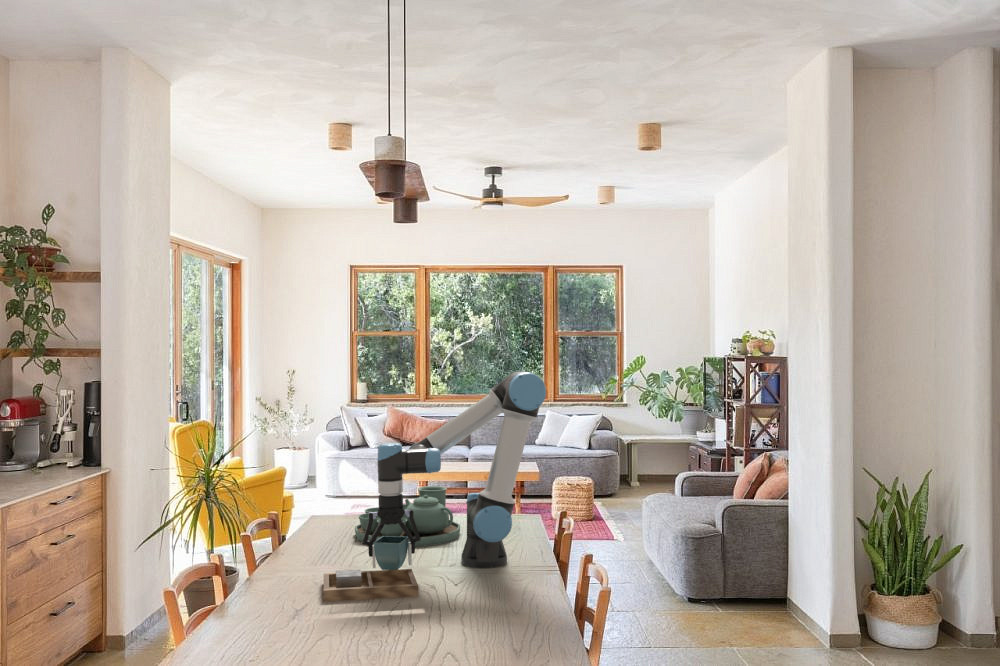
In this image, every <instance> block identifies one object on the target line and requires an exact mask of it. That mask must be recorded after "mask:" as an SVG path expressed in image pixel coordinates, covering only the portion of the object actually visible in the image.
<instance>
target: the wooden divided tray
mask: <svg viewBox="0 0 1000 666" xmlns="http://www.w3.org/2000/svg"><path fill="white" fill-rule="evenodd" d="M361 576H362V579H361V587H351V588H336V572H323V597H322V598H323V602H324V603H325V602H339V601H340V602H341V601H358V600H377V599H396V598H397V599H398V598H411V597H413V598H414V597H419V584H418V582H417V579H416V576H415V574H414V572H413V569H412V568H404V569H401V568H399V569H398V570H382V569H381V570H364V571H361Z"/></svg>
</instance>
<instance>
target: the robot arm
mask: <svg viewBox="0 0 1000 666" xmlns="http://www.w3.org/2000/svg"><path fill="white" fill-rule="evenodd" d="M546 388H547V387H546V385H545V383H544V381H543V379H542V378H541V377H539V376H538V375H537V374H535V373H533V372H531V371H522V370H521V371H518V370H517V371H513V372H512V373H510V374H509V375H508V376H506V377H505V378H504V379H502V380H501V381H500V382H499V383H497V384H496V385H494V386H493V387H492V388H491V389H489V390H488V391H489V392H488V394H487V395H486V396H483V398H481V399H480V400H478V401H477V402H476V403H474V404H472V405H471V406H470V407H468V408H467V409H465V410H464V411H462V412H461V413H459V414H458V415H456V416H455V417H454V418H452V419H450V420H449V421H448V422H446V423H445V424H443V425H442V426H441V427H439V428H437V429H436V430H434V431H433V432H432V433H430V434H429V435H427V436H426V437H424V438H423V439H422V440H420V441H419V442H416V443H413V444H411V446H410V447H409V448H408V449H406V448H405V449H403V446H402V444H401V443H399V442H398V443H397V442H388V443H382V444H379V445H378V447H377V478H378V479H377V487H378V491H377V492H378V494H379V495H378V507H379V509H378V511H377V512H369V520H368V524H367V527H366V531H365V534H364V537H363V541H361V542H362V545H364V546H367V547H368V556H369V558H372V561H371V562H372V568H373V569H376V566H377V565H376V557H375V550H374V545H373V544H374V542H375V540H376V538H377V537H378V535H379V533H380V531H381V530H382V528H383V527H384V525H385V524H386V525H389V524H397V523H399V525H400V526H401V528H402V529H403V531H404V532H405V534H406V535H407V537H408V538H409V540H410V542H408V550H407V556H408V558H407V559H408V565H409V566H412V565H413V564H412V560H413V559H412V557H413V556H412V555H413V554H416V553H415V552H416V547H415V542H417V541H420V540H421V538H420V535H419V533H418V530H417V527H416V524H415V521H414V518H413V513H414V512H413V510H412V509H410V510H404V508H403V504H404V495H403V494H402V493H403V492H404V486H403V475H407V474H409V475H410V474H431V473H438V472H440V471H441V466H442V457H441V455H443V454H444V453H445V452H448V450H450V449H452V448H453V447H454V446H456V445H457V444H459V443H461V442H462V441H463V440H464V439H466V438H467V437H469V436H470V435H471V434H473V433H475V432H477V430H479V429H481V428H482V427H483V426H485V425H486V424H488V423H489V422H491V421H493V420H494V419H496V417H498V416H500V415H501V414H503V415H504V417H503V420H502V424H501V427H500V432H499V435H498V439H497V441H496V442H497V443H496V446H495V451H494V455H493V458H492V462H491V466H490V468H489V469H490V470H489V473H488V476H487V481H486V485H485V488H484V489H483V490H481V491H479V492H470V493H468V494H467V498H466V503H465V504H466V541H465V544H464V547H463V549H462V553H461V559H460V560H461V561H460V563H461V564H462V565H464V566H465V567H466V566H467V567H470V568H477V569H478V568H479V569H481V568H482V569H489V568H491V569H492V568H498V567H502V566H504V565H507V563H508V555H507V551H506V549H505V546H504V542H503V540H504V539H505V538H507V537H508V536H509V534H510V533H511V530H512V527H513V518H512V514H513V511H514V506H515V499H514V498H513V496H512V495H513V491H514V488H515V484H516V480H517V476H518V472H519V468H520V464H521V460H522V456H523V452H524V450H525V445H526V441H527V437H528V433H529V429H530V427H531V423H532V422H533V421H534V420H536V419H537V418H538V414H539V411H540V407H541V406H542V405H543V403H544V402H545V399H546V395H547V389H546ZM404 514H406V515H407V517H409V519H410V522H411V525H412V528H413V531H414V534H415V537H414V538H413V537H412V535H411V534H410V532H409V531H408V529H407V528H406V526H405V525H404V523H403V522H402V520H401V518H402V517H403V515H404ZM376 516H379V518H380V519H381V521H380V522H379V525H378V526H377V528H376V530H375V532H374V533H373V535H372V537H371V539H370V540H369V541H368V537H369V534H370V530H371V527H372V524H373V519H375V518H376Z"/></svg>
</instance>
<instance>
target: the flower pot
mask: <svg viewBox="0 0 1000 666" xmlns="http://www.w3.org/2000/svg"><path fill="white" fill-rule="evenodd" d="M408 540H409V538H408V537H397V536H382V537H380V538H379V539H378V540H376V541H375V542H374V550H375V561H376V563H377V565H378V567H379V568H380V569H381V570H400V569H401V568H402V567H403V565H404V563H405V561H406V558H407V556H408Z"/></svg>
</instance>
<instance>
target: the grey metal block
mask: <svg viewBox="0 0 1000 666" xmlns="http://www.w3.org/2000/svg"><path fill="white" fill-rule="evenodd" d="M335 573H336V588H351V587H361V579H362V576H361V569H343V570H336V571H335Z"/></svg>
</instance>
